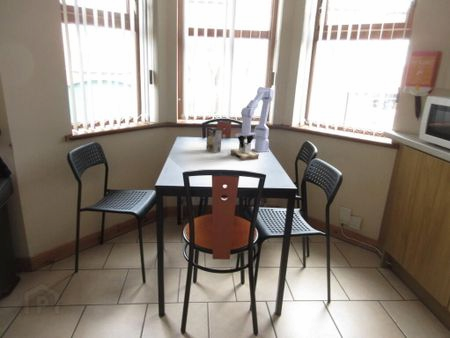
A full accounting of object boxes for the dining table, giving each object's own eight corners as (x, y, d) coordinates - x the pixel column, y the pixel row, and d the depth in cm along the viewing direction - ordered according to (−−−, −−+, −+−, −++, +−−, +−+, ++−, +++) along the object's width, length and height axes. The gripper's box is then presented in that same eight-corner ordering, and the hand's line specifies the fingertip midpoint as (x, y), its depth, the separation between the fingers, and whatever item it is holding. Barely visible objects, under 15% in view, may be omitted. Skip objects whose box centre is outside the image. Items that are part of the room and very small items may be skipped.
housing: (243, 150, 211) (244, 140, 209) (250, 153, 205) (250, 143, 203) (238, 150, 209) (239, 141, 207) (245, 153, 203) (245, 143, 201)
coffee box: (205, 150, 218) (206, 127, 213) (212, 149, 222) (213, 126, 217) (214, 153, 211) (215, 129, 206) (221, 152, 215) (222, 129, 210)
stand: (245, 152, 217) (245, 148, 216) (258, 158, 204) (258, 154, 203) (230, 153, 212) (230, 149, 211) (242, 160, 198) (242, 155, 197)
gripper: (252, 125, 208) (250, 144, 212) (233, 125, 202) (232, 146, 206) (258, 127, 202) (256, 147, 207) (239, 127, 196) (237, 148, 200)
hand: (244, 147), depth 206 cm, fingers open, 4 cm apart
